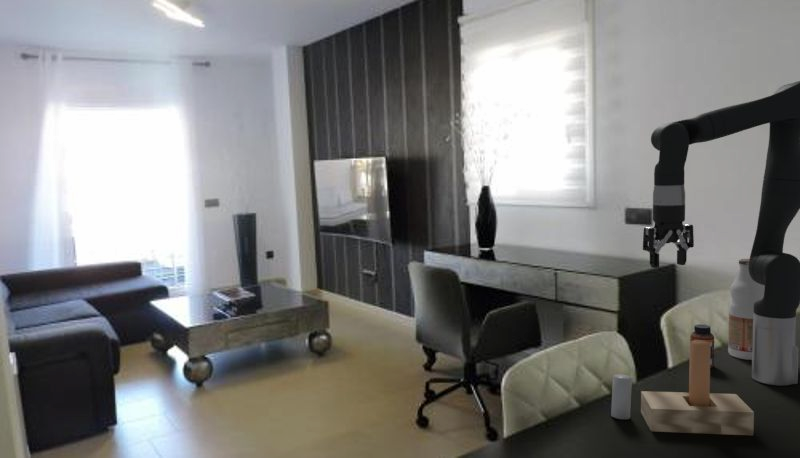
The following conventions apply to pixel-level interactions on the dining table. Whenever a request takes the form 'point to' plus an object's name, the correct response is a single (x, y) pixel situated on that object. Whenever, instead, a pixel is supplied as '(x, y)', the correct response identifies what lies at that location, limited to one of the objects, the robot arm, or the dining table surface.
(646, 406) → the wooden block with hole
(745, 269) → the white plastic bottle
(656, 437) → the dining table surface
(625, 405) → the short dowel
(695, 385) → the long dowel
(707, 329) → the supplement bottle
